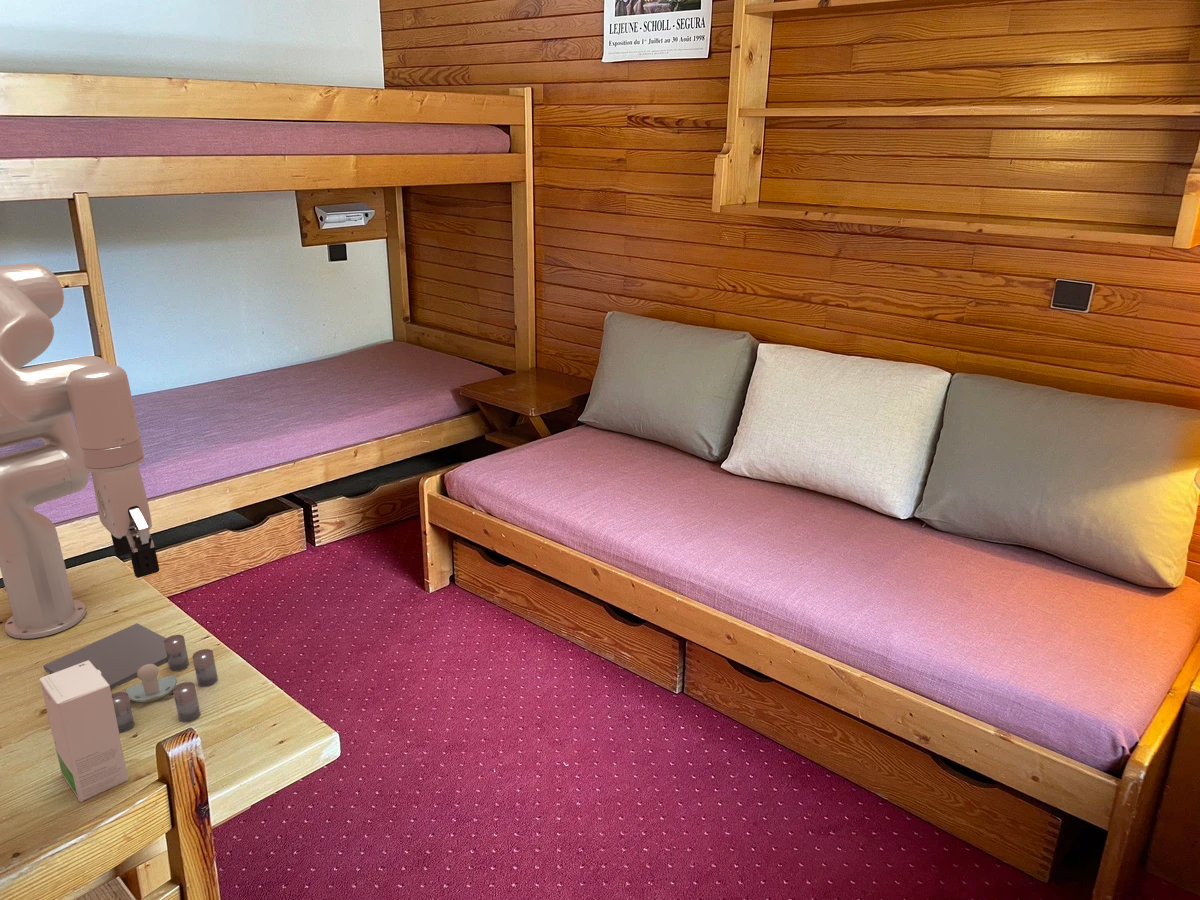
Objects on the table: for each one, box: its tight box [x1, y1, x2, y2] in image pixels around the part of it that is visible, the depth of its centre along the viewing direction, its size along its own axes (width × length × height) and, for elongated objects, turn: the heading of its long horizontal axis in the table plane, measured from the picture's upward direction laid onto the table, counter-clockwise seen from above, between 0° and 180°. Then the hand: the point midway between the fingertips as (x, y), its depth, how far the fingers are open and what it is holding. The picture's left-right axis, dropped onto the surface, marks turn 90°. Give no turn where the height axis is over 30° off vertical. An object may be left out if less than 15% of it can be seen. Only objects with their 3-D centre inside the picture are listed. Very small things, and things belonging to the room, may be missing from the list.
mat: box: [42, 622, 168, 690], centre depth 152 cm, size 15×16×1 cm
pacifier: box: [124, 664, 178, 703], centre depth 142 cm, size 7×6×6 cm
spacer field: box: [111, 634, 219, 734], centre depth 140 cm, size 17×17×5 cm
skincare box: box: [38, 660, 129, 803], centre depth 122 cm, size 8×7×16 cm
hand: (137, 563), depth 134 cm, fingers open, 9 cm apart
